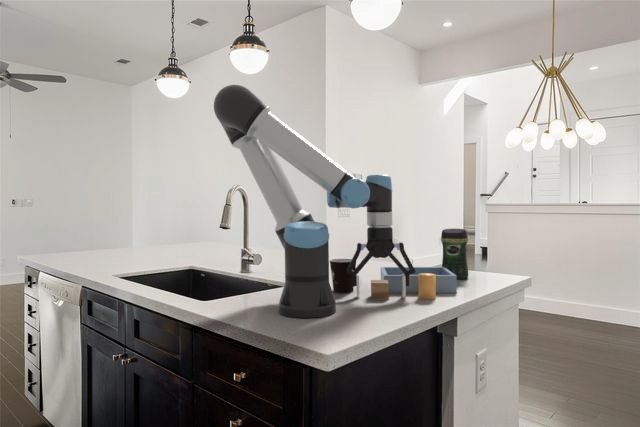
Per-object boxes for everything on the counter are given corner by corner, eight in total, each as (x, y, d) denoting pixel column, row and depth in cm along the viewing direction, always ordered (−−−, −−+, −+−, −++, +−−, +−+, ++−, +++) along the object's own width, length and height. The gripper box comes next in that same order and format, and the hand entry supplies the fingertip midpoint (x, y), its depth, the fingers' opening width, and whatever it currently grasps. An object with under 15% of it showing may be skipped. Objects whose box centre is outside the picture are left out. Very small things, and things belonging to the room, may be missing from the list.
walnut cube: (388, 299, 127) (388, 282, 127) (371, 299, 127) (371, 282, 127) (387, 296, 132) (387, 279, 132) (371, 296, 132) (370, 279, 132)
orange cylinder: (437, 299, 126) (437, 276, 125) (419, 299, 126) (419, 275, 126) (434, 296, 131) (434, 273, 130) (417, 296, 131) (417, 273, 131)
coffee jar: (469, 277, 163) (469, 228, 163) (466, 280, 156) (466, 229, 156) (443, 275, 168) (443, 227, 167) (439, 278, 160) (439, 228, 160)
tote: (456, 293, 134) (456, 275, 134) (384, 292, 136) (384, 275, 136) (444, 282, 153) (444, 267, 152) (380, 282, 154) (380, 267, 154)
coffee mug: (354, 294, 135) (354, 262, 134) (327, 293, 136) (327, 261, 136) (359, 287, 146) (358, 257, 146) (334, 286, 148) (333, 257, 148)
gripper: (420, 225, 132) (421, 294, 132) (338, 226, 134) (339, 294, 134) (424, 226, 124) (425, 299, 125) (337, 228, 126) (338, 299, 127)
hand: (380, 297), depth 129 cm, fingers open, 13 cm apart
